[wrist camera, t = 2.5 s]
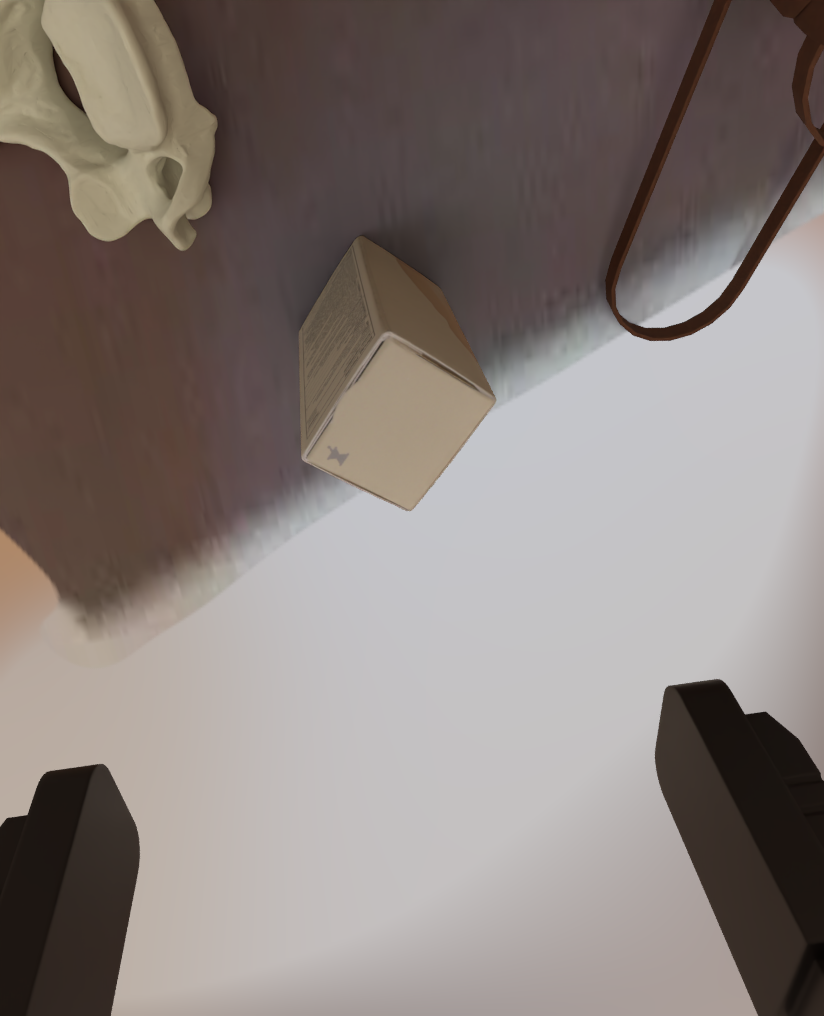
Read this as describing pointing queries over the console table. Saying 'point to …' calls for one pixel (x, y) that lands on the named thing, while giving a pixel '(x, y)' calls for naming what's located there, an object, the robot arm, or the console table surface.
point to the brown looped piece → (816, 11)
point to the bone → (109, 112)
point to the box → (386, 379)
